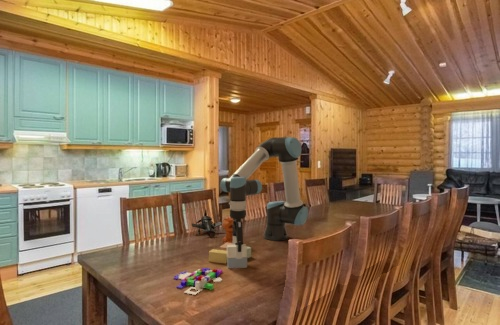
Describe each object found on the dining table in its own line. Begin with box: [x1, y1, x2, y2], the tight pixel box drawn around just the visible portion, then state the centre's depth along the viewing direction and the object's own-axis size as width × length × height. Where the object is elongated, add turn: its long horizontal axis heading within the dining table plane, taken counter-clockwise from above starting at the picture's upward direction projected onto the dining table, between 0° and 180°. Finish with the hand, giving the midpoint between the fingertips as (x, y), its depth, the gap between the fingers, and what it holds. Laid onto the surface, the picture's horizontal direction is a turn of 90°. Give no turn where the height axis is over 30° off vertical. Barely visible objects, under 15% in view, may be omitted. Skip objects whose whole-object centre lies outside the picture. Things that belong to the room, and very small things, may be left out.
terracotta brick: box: [218, 242, 233, 251], centre depth 166 cm, size 9×4×5 cm, turn 160°
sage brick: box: [247, 246, 252, 259], centre depth 161 cm, size 9×4×5 cm, turn 136°
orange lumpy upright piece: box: [222, 215, 233, 244], centre depth 182 cm, size 11×11×18 cm
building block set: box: [173, 267, 223, 296], centre depth 132 cm, size 25×20×4 cm
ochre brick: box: [208, 248, 227, 264], centre depth 156 cm, size 9×4×5 cm, turn 74°
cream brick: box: [227, 243, 248, 258], centre depth 149 cm, size 9×4×5 cm, turn 100°
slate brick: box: [226, 257, 248, 269], centre depth 149 cm, size 9×4×5 cm, turn 99°
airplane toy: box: [191, 209, 223, 237], centre depth 207 cm, size 20×19×15 cm
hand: (237, 253), depth 149 cm, fingers open, 13 cm apart
